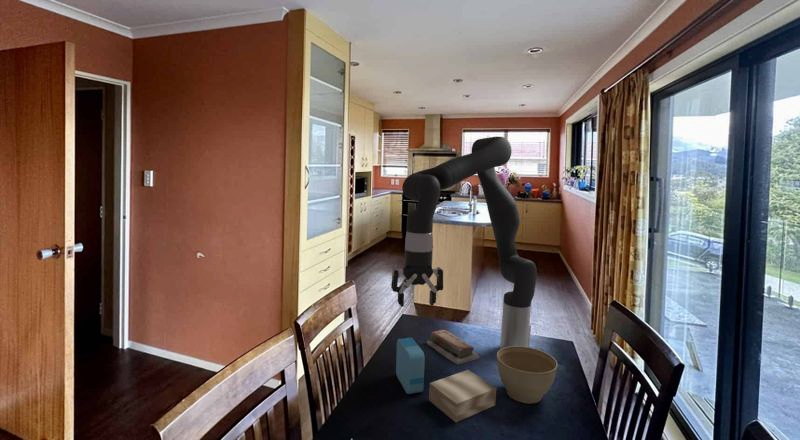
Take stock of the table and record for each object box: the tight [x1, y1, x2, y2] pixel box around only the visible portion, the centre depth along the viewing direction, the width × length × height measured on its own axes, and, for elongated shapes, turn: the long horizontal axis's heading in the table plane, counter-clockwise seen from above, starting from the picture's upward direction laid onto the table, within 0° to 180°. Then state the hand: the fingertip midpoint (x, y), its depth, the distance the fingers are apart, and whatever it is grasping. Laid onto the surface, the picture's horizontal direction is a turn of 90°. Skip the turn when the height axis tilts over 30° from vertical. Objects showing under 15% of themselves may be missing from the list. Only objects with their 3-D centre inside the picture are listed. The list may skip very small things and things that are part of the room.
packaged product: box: [425, 329, 481, 365], centre depth 138 cm, size 18×5×10 cm
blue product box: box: [395, 337, 426, 395], centre depth 115 cm, size 12×4×12 cm, turn 18°
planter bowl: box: [496, 346, 558, 404], centre depth 112 cm, size 16×16×11 cm
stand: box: [428, 369, 497, 423], centre depth 107 cm, size 14×11×5 cm
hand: (416, 305), depth 110 cm, fingers open, 8 cm apart
